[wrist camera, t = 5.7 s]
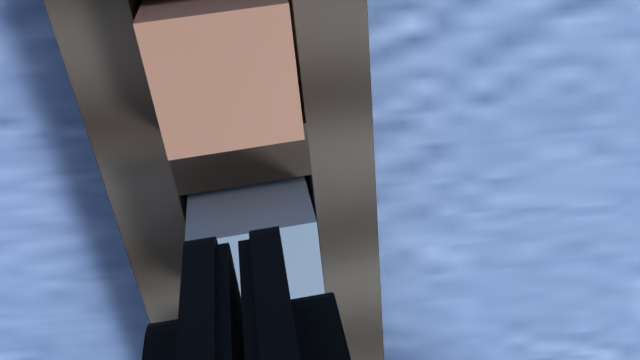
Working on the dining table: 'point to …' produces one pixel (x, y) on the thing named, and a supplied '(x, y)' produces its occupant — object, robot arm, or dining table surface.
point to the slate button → (263, 225)
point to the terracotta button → (220, 73)
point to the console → (235, 152)
